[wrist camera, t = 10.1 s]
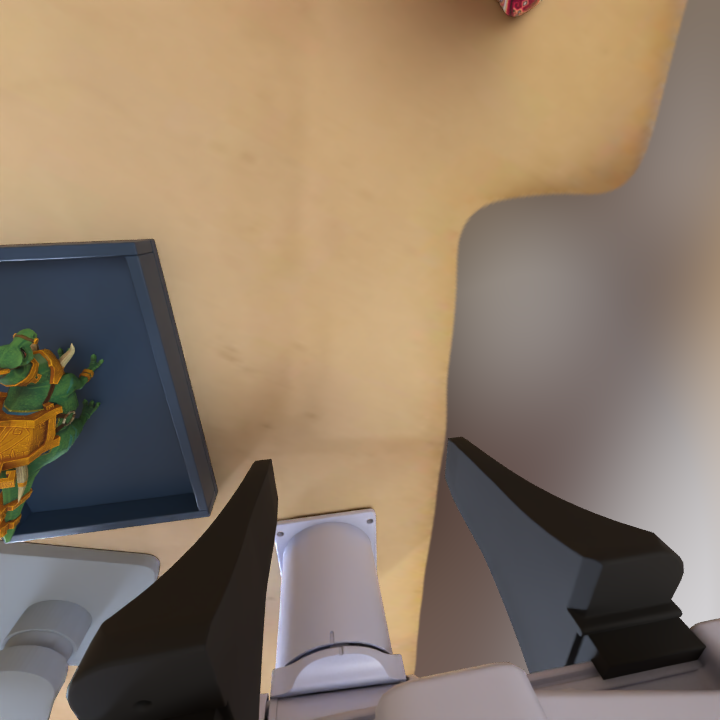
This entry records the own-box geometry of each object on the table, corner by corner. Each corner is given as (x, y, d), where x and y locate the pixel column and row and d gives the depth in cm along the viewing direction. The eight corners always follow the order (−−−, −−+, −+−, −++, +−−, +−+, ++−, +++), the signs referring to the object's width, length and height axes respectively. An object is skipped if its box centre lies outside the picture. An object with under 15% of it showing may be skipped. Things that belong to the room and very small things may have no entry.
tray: (218, 491, 25) (210, 516, 22) (32, 514, 23) (4, 544, 21) (154, 239, 18) (134, 241, 16) (-114, 249, 16) (-176, 254, 14)
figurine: (121, 314, 19) (-4, 379, 11) (93, 482, 22) (-14, 615, 15) (56, 294, 18) (-126, 351, 10) (38, 472, 21) (-104, 608, 14)
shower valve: (-98, 767, 23) (-132, 625, 18) (-26, 669, 28) (-37, 536, 23) (108, 758, 26) (127, 635, 21) (140, 671, 31) (161, 555, 26)
